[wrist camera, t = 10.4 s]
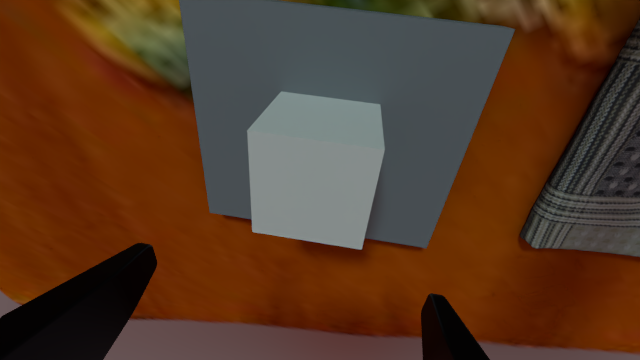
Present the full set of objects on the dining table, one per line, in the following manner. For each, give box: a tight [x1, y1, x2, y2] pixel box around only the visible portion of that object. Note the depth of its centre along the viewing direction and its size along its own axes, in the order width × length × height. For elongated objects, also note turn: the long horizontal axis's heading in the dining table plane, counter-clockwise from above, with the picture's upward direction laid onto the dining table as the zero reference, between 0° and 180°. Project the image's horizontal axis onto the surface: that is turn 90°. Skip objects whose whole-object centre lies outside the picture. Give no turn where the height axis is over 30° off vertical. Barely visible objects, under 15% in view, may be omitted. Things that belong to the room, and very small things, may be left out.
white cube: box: [247, 91, 385, 250], centre depth 15 cm, size 6×6×6 cm
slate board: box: [179, 0, 515, 248], centre depth 18 cm, size 16×14×2 cm
